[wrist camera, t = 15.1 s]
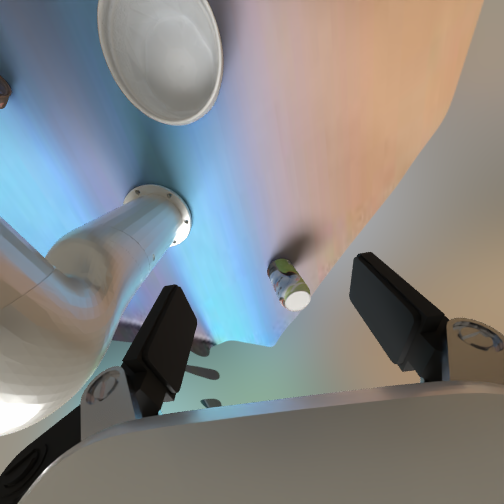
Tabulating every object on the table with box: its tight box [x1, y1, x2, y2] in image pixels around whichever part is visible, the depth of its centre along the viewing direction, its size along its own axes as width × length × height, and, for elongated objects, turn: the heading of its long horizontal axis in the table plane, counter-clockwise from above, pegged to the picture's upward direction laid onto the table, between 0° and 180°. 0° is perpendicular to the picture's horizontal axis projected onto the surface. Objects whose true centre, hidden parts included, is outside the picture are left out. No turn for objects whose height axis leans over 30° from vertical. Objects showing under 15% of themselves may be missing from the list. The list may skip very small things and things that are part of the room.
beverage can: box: [267, 259, 310, 312], centre depth 39 cm, size 6×7×12 cm
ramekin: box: [97, 0, 223, 126], centre depth 23 cm, size 13×13×7 cm
